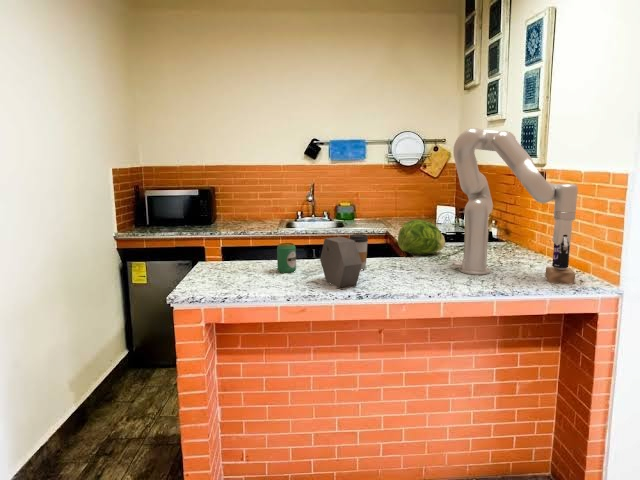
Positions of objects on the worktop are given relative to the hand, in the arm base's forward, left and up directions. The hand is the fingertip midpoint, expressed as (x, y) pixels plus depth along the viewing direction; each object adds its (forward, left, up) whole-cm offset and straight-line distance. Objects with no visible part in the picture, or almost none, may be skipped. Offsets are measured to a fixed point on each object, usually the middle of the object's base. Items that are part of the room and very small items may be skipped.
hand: (560, 260), depth 192 cm
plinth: (0, 0, -8) cm, 8 cm away
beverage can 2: (0, 0, -3) cm, 3 cm away
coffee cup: (-81, -1, -8) cm, 81 cm away
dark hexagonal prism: (-83, -26, -8) cm, 87 cm away
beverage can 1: (-110, -13, -8) cm, 111 cm away
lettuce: (-57, +39, -8) cm, 69 cm away
